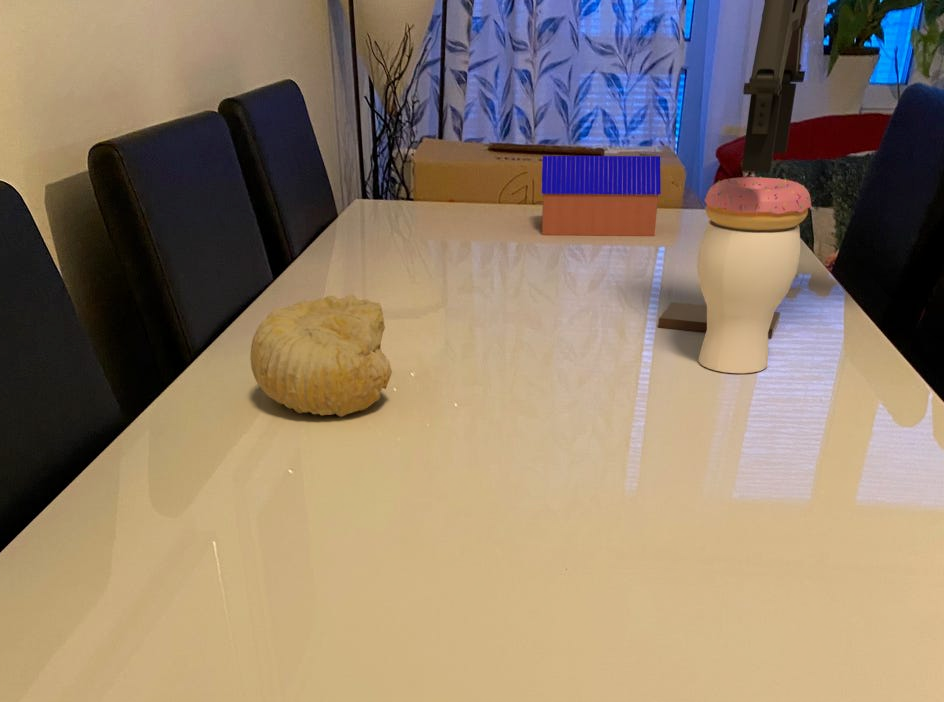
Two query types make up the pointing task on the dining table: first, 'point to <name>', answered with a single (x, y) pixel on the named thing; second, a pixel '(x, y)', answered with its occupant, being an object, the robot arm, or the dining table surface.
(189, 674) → the dining table surface
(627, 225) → the house
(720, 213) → the doughnut
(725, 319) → the cup
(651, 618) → the dining table surface
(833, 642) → the dining table surface
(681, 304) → the walnut coaster board
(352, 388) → the seashell
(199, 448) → the dining table surface
